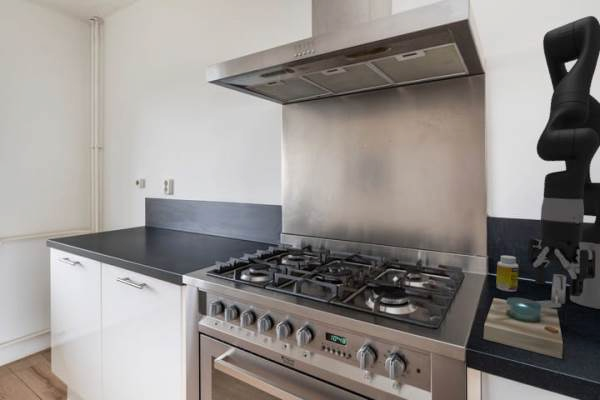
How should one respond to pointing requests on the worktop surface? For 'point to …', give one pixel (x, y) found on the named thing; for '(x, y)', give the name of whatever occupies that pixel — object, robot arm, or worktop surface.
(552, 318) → the stand
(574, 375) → the worktop surface
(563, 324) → the worktop surface
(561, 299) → the teal knob with stem
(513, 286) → the supplement bottle
